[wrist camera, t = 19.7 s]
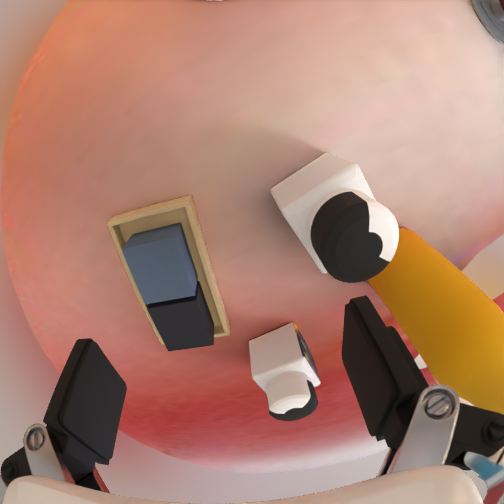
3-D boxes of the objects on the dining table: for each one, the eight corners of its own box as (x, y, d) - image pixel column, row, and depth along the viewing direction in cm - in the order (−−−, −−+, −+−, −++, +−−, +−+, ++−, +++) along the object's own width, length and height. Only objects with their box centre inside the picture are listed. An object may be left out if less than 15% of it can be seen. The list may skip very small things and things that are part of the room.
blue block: (132, 233, 30) (121, 249, 26) (181, 221, 30) (174, 236, 26) (152, 285, 33) (144, 304, 30) (198, 276, 33) (195, 295, 30)
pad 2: (153, 289, 33) (146, 308, 30) (199, 280, 33) (196, 300, 30) (172, 330, 37) (168, 351, 33) (214, 323, 36) (213, 345, 33)
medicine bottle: (310, 349, 41) (330, 413, 30) (268, 366, 42) (279, 431, 31) (293, 320, 38) (313, 389, 27) (247, 340, 39) (254, 410, 28)
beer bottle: (348, 269, 35) (468, 478, 9) (391, 212, 32) (570, 383, 6) (389, 295, 38) (494, 460, 12) (428, 246, 35) (565, 391, 9)
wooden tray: (113, 216, 29) (106, 222, 28) (191, 194, 29) (189, 200, 27) (163, 334, 38) (161, 345, 36) (229, 324, 38) (230, 335, 36)
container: (304, 242, 33) (342, 311, 21) (268, 189, 30) (294, 238, 18) (358, 206, 31) (420, 258, 20) (327, 150, 28) (389, 175, 16)
